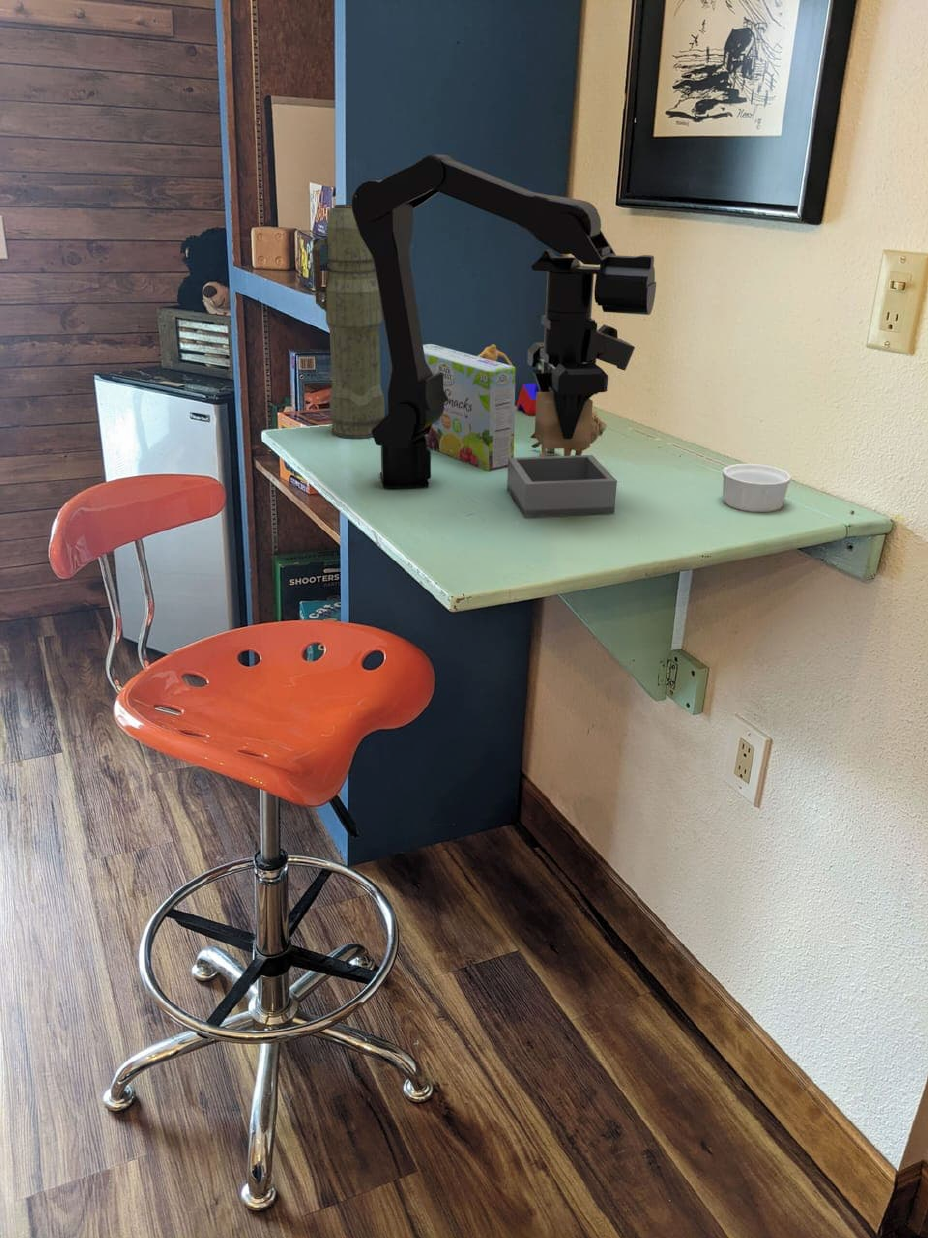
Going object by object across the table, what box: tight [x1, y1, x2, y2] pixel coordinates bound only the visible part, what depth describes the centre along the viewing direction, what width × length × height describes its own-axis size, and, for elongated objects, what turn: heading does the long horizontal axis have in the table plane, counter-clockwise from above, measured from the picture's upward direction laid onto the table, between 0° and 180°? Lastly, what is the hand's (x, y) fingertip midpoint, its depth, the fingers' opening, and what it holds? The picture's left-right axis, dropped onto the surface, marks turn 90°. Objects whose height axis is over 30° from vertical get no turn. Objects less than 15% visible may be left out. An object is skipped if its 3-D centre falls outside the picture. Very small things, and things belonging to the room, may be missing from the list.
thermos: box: [311, 204, 386, 440], centre depth 160 cm, size 9×12×35 cm
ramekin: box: [722, 463, 792, 513], centre depth 136 cm, size 9×9×4 cm
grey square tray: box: [506, 454, 618, 519], centre depth 135 cm, size 12×12×4 cm
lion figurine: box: [530, 409, 607, 457], centre depth 152 cm, size 15×5×9 cm, turn 37°
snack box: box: [423, 343, 517, 472], centre depth 154 cm, size 21×6×15 cm, turn 37°
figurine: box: [477, 343, 513, 366], centre depth 177 cm, size 8×6×12 cm
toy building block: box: [515, 382, 540, 416], centre depth 179 cm, size 4×4×8 cm
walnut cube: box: [534, 392, 594, 450], centre depth 132 cm, size 6×6×6 cm
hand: (561, 432), depth 132 cm, fingers closed on walnut cube, 6 cm apart
